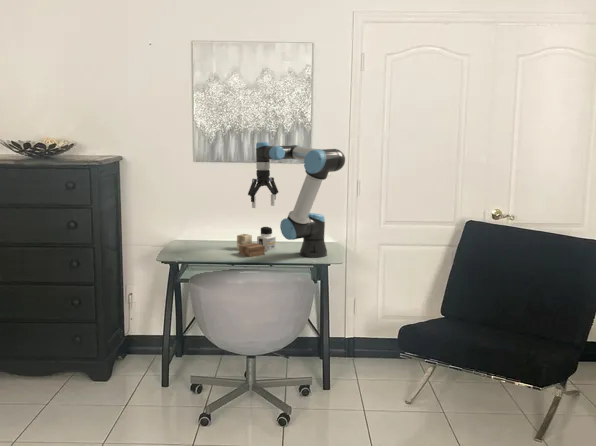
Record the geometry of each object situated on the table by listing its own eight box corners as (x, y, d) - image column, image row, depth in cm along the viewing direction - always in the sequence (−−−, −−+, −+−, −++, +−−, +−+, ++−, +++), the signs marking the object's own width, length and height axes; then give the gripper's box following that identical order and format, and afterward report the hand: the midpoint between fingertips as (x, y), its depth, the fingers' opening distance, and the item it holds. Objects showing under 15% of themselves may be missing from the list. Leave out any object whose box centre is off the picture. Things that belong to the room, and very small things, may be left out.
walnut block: (264, 254, 353) (264, 245, 352) (250, 257, 346) (250, 248, 345) (253, 251, 360) (253, 242, 359) (239, 253, 354) (239, 245, 353)
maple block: (251, 248, 368) (251, 235, 366) (245, 250, 363) (245, 236, 361) (243, 247, 371) (243, 233, 369) (237, 249, 366) (236, 235, 365)
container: (267, 251, 361) (267, 229, 358) (256, 249, 365) (256, 227, 363) (275, 249, 367) (276, 227, 364) (265, 247, 371) (265, 225, 369)
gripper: (276, 168, 371) (276, 204, 374) (241, 170, 355) (241, 208, 358) (284, 168, 365) (284, 205, 369) (249, 171, 349) (249, 209, 353)
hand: (263, 206), depth 363 cm, fingers open, 13 cm apart
